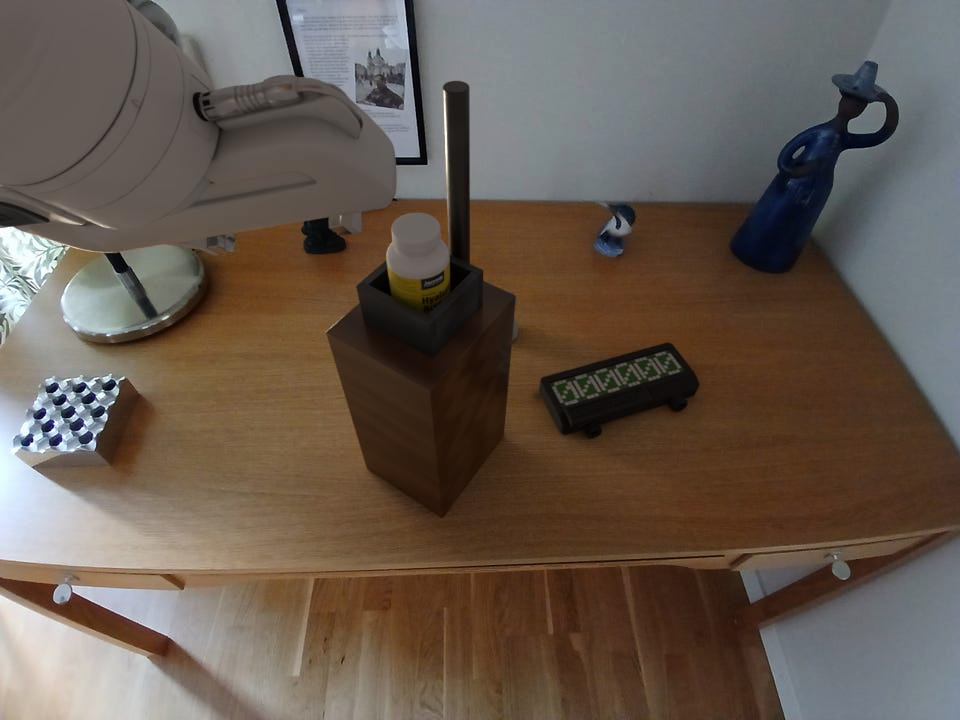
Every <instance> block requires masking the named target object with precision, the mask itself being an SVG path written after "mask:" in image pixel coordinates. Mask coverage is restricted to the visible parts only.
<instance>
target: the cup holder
mask: <svg viewBox="0 0 960 720" xmlns="http://www.w3.org/2000/svg"><path fill="white" fill-rule="evenodd" d="M470 90H471V87H470V85H469V83H467V82H465V81H462V80H450V81H447V82H445V83H444V84H443V85H442V103H443V105H442V107H443V129H444V131H443V132H444V156H445V158H444V159H445V179H446V180H445V183H446V207H447V232H448V233H447V234H448V250H449V256H450V293H449V294H448V295H447V296H446V297H445V298H444V299H443V300H442V301H441V302H440V303H439V304H438V305H437V306H436V307H435V308H434V309H433V310H432V311H431V312H430V313H429V314H428V315H427V314H425V313H423V312H421V311H419V310H417V309H415V308H413V307H411V306H409V305H407V304H405V303H403V302H401V301H399V300H397V299H395V298H393V297H391V290H390V283H389V276H388V269H387V260H386V259H385V260H384V261H383V262H382V263H381V264H380V265H379V266H377V267H376V268H375V269H374V270H373V271H372V272H370V273H369V274H368V275H367V276H366V277H364V278H363V279H362V280H361V281H360V282H359V283H358V284H357V285H355V289H356V293H357V299H358V303H357V304H356V305H355V306H354V307H353V308H351V310H349V311H348V312H347V313H346V314H344V315H343V316H342V317H341V318H340V319H339V320H338V321H336V322H335V324H333V325H332V326H331V327H330V328H329V329H327V331H325V334H326V337H327V340H328V344H329V347H330V350H331V354H332V357H333V361H334V365H335V367H336V371H337V374H338V377H339V380H340V381H339V382H340V383H341V388H342V390H343V393H344V397H345V401H346V403H347V408H348V410H349V415H350V418H351V421H352V424H353V427H354V430H355V431H354V432H355V434H356V437H357V439H358V441H357V442H358V445H359V447H360V452H361V454H362V457H363V461H364V464H365V467H366V469H367V470H368V471H370V472H371V473H372V474H373V475H376V477H379V478H380V479H382V480H383V481H385V482H386V483H388V484H389V485H391V486H392V487H394V488H396V489H397V490H398V491H400V492H401V493H404V494H405V495H406V496H408V497H409V498H411V499H412V500H414V501H415V502H417V503H419V504H420V505H422V507H425V508H426V509H427V510H429V511H431V513H434V514H435V515H437V516H438V517H440V518H441V519H443V518H444V517H445V516H446V514H447V513H448V512H449V511H450V510H451V508H452V506H453V505H454V504H455V503H456V501H457V500H458V498H459V497H460V495H461V494H462V493H463V492H464V491H465V489H466V488H467V486H468V485H469V484H470V482H471V481H472V479H473V478H474V477H475V475H476V474H477V473H478V472H479V470H480V469H481V467H482V466H483V465H484V463H485V462H486V461H487V459H488V458H489V457H490V456H491V454H492V453H493V452H494V450H495V449H496V447H497V446H498V445H499V443H500V442H501V441H502V439H503V438H504V436H505V427H506V415H507V407H508V394H509V393H508V392H509V381H510V368H511V360H512V359H511V358H512V346H513V340H512V336H513V324H514V319H515V312H516V305H515V301H516V298H517V295H516V294H514V293H513V294H511V293H510V291H508V290H507V291H505V290H506V289H502V288H500V287H498V286H496V285H494V284H492V283H490V282H487V281H485V280H484V269H483V268H481V267H478V266H476V265H473V264H472V263H471V168H470V167H471V159H470V158H471V154H470V153H471V150H470V149H471V142H470V141H471V140H470V139H471V137H470V135H471V134H470V133H471V126H470V125H471V124H470V123H471V122H470V121H471V119H470V118H471V117H470V113H471V111H470V110H471V109H470V108H471V107H470V106H471V104H470V99H471V98H470V96H471V95H470V94H471V93H470Z"/></svg>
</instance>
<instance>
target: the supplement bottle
mask: <svg viewBox="0 0 960 720" xmlns="http://www.w3.org/2000/svg"><path fill="white" fill-rule="evenodd" d="M390 230H391V241H392V242H391V243H390V244H389V245H388V247H387V250H386V254H385V261H386V260H387V269H388V276H389V283H390V290H391V297H393V298H395V299H397V300H399V301H401V302H403V303H405V304H407V305H409V306H411V307H413V308H415V309H417V310H419V311H421V312H423V313H425V314H427V315H428V314H429V313H430V312H431V311H432V310H433V309H434V308H435V307H436V306H437V305H438V304H439V303H440V302H441V301H442V300H443V299H444V298H445V297H446V296H447V295H448V294H449V293H450V256H449V246H448V245H447V244H446V242H445V241H444V240H443V239H442V233H441V232H442V231H441V224H440V223H439V220H438V219H437V218H436V217H434V216H433V215H431V214H428V213H424V212H409V213H405V214H403V215H401V216H399V217H397V218H396V219H394V221H393V223H392V224H391V229H390Z"/></svg>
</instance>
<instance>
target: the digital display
mask: <svg viewBox="0 0 960 720" xmlns="http://www.w3.org/2000/svg"><path fill="white" fill-rule="evenodd" d="M699 387H700V381H699V378H698V376H697V374H696V373H695V371H694V370H693V369H692V367H691V366H690V364H688V362H687V361H686V360H685V358H684V357H683V355H682V354H681V353H680V352H679V350H678V349H677V348H676V346H674V344H673V343H671V342H668V341H667V342H664V343H660V344H656V345H653V346H649V347H645V348H642V349H638V350H635V351H631V352H628V353H624V354H621V355H617V356H614V357H613V356H612V357H609V358H606V359H602V360H599V361H595V362H592V363H588V364H584V365H581V366H578V367H574V368H570V369H567V370H563V371H560V372H555V373H553V374H549V375H545V376H542V377H541V378H540V381H539V387H538V393H539V396H540V397H541V400H542V401H543V404H544V405H545V407H546V408H547V410H548V412H549V415H550V417H551V418H552V420H553V422H554V424H555V425H556V428H557V430H558V431H559V433H560V434H562V435H563V436H564V435H565V436H566V435H570V434H574V433H576V432H579V431H584V433H585V435H586V437H587V438H589V439H595V438H597V437H599V436H600V435H601V434H602V432H603V428H602V427H601V425H602V424H606V423H609V422H613V421H615V420H619V419H622V418H625V417H628V416H631V415H635V414H638V413H642V412H644V411H649V410H651V409H654V408H657V407H661V406H665V405H668V404H669V406H670V407H671V409H672V410H673V412H674V411H675V412H681V411H683V410H684V409H686V408H687V407H688V404H689V403H688V400H687V399H688V398H690V397H693V396H696V393H697V392H698V389H699Z"/></svg>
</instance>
